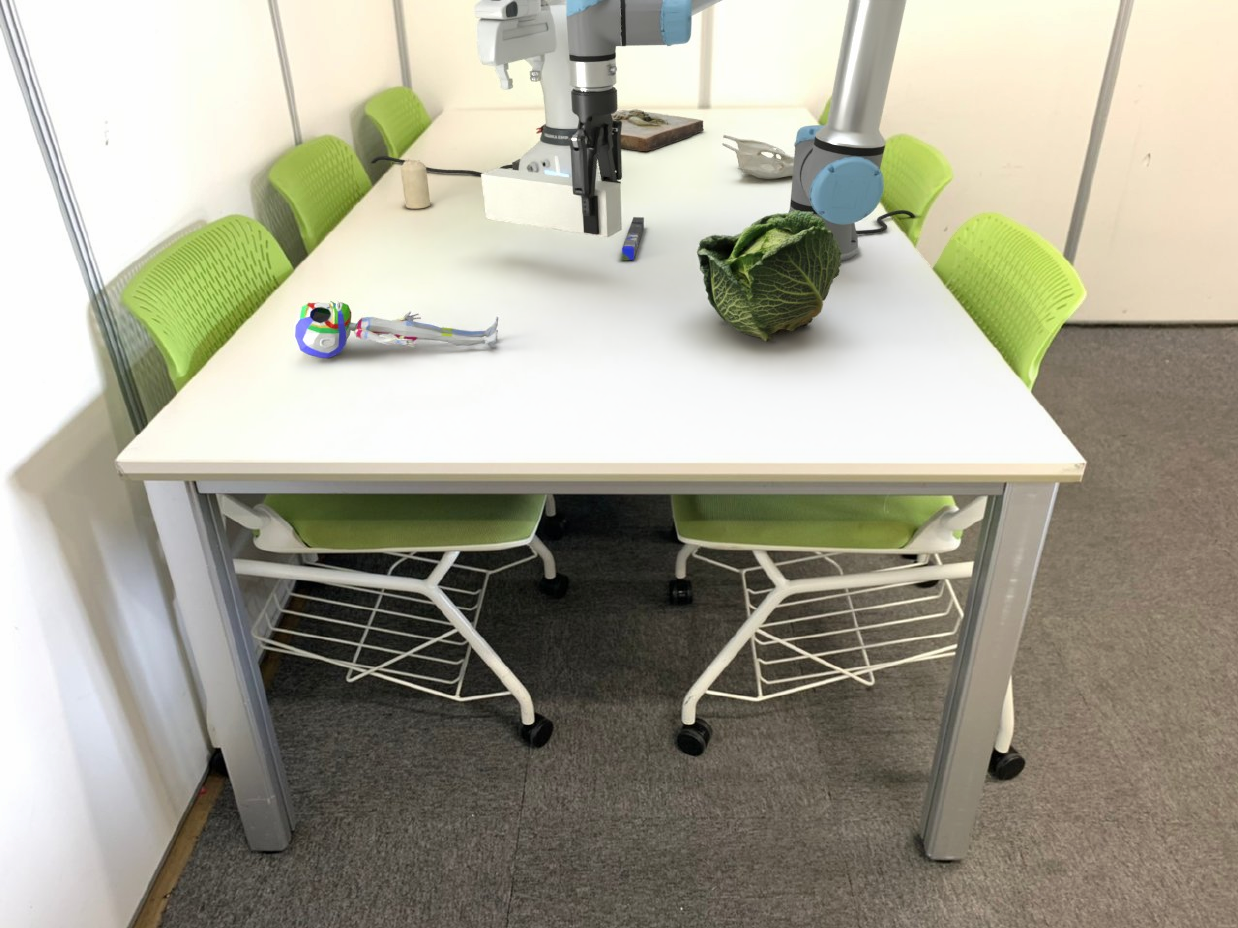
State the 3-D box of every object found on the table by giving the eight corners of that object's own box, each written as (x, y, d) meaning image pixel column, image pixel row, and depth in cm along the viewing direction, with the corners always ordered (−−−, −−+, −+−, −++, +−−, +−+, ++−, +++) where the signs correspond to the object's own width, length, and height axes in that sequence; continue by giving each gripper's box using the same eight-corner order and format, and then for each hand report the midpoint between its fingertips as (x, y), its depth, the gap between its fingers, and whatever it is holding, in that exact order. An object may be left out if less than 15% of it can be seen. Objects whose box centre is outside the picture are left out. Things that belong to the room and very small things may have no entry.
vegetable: (729, 354, 150) (671, 251, 142) (822, 290, 151) (770, 184, 144) (780, 378, 132) (718, 261, 124) (885, 305, 133) (830, 185, 125)
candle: (435, 203, 204) (429, 158, 199) (422, 209, 200) (416, 164, 194) (413, 201, 206) (407, 156, 200) (401, 207, 201) (394, 162, 196)
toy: (498, 328, 132) (286, 311, 128) (494, 379, 137) (289, 364, 132) (499, 302, 141) (300, 285, 136) (495, 351, 145) (303, 336, 140)
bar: (485, 218, 167) (480, 174, 162) (501, 211, 170) (497, 167, 166) (607, 237, 155) (605, 190, 151) (621, 229, 159) (620, 183, 154)
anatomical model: (724, 131, 223) (826, 130, 219) (723, 169, 228) (823, 168, 224) (720, 146, 210) (828, 145, 207) (720, 185, 215) (825, 185, 212)
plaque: (647, 125, 237) (559, 112, 252) (647, 153, 241) (560, 139, 256) (706, 107, 258) (622, 97, 273) (705, 133, 262) (622, 121, 277)
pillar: (643, 217, 185) (633, 249, 169) (643, 227, 186) (633, 260, 170) (633, 217, 186) (621, 249, 169) (633, 227, 187) (622, 260, 170)
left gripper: (535, -3, 171) (539, 75, 179) (467, 8, 157) (475, 92, 164) (562, -2, 169) (565, 77, 176) (496, 9, 154) (503, 95, 161)
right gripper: (583, 99, 137) (591, 246, 150) (641, 79, 150) (643, 217, 163) (543, 95, 141) (553, 240, 153) (602, 77, 154) (608, 212, 166)
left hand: (521, 85), depth 170 cm, fingers open, 8 cm apart
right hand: (599, 228), depth 158 cm, fingers closed on bar, 5 cm apart
